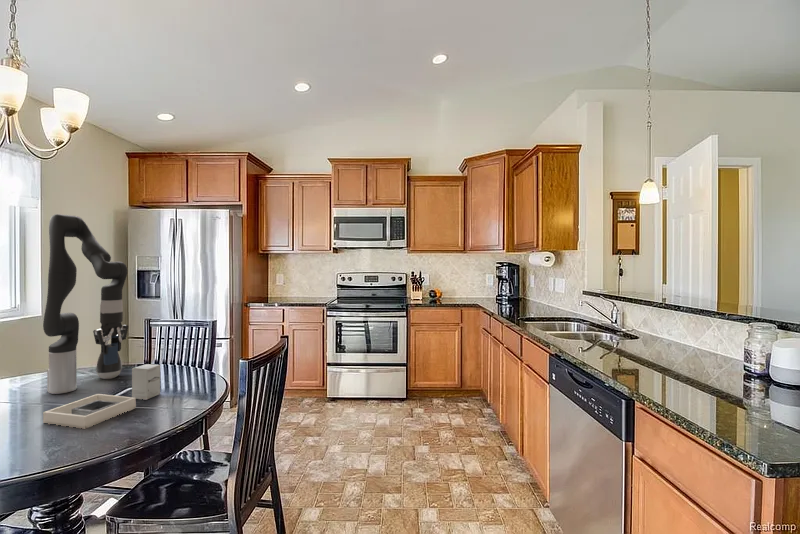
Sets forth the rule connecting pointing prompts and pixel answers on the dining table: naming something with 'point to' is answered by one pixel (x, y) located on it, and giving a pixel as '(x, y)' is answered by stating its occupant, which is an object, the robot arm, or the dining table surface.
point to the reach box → (66, 417)
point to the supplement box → (145, 381)
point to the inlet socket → (92, 407)
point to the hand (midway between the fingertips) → (111, 352)
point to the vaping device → (112, 351)
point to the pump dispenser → (108, 368)
